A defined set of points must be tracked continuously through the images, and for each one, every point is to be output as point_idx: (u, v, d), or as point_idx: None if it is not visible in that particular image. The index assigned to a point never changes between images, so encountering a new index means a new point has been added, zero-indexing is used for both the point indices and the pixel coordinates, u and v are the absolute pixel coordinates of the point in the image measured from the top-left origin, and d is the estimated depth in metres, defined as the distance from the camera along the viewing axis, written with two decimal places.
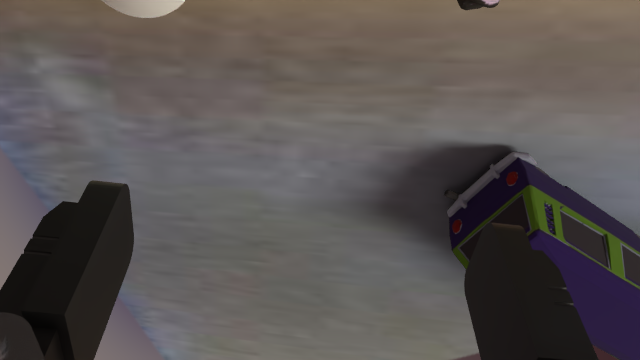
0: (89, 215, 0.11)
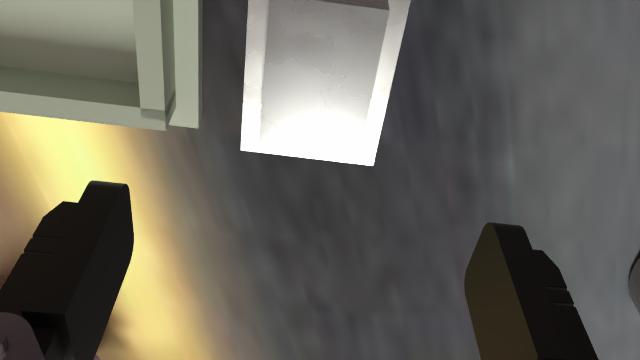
0: (89, 215, 0.11)
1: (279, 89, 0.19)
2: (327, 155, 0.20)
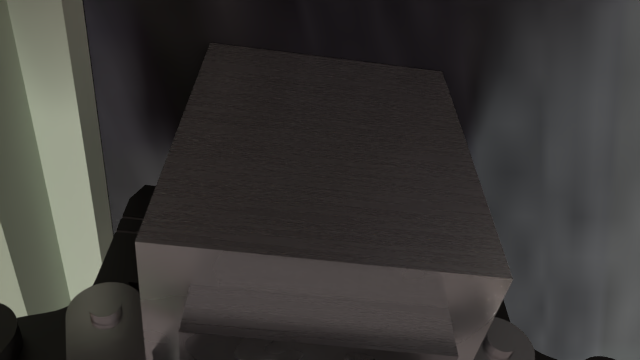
0: None
1: None
2: None
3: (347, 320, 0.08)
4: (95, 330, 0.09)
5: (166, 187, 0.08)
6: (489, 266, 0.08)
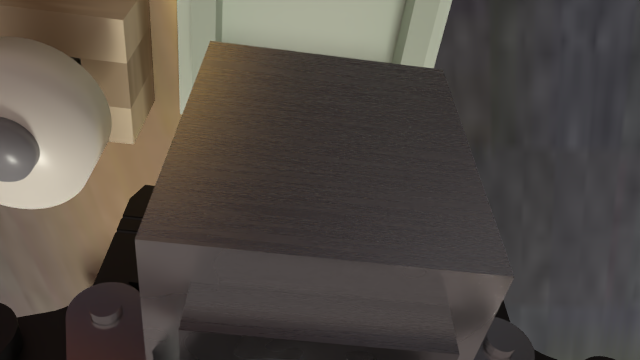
0: None
1: None
2: None
3: (347, 318, 0.08)
4: (95, 330, 0.09)
5: (166, 185, 0.08)
6: (490, 264, 0.08)
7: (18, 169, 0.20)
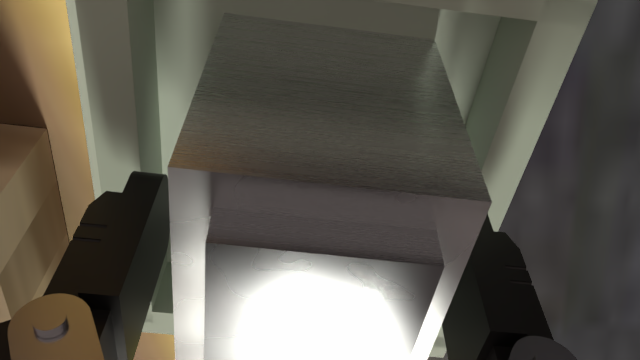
0: (134, 203, 0.11)
1: None
2: None
3: (349, 237, 0.09)
4: (37, 344, 0.09)
5: (191, 126, 0.09)
6: (471, 192, 0.09)
7: None
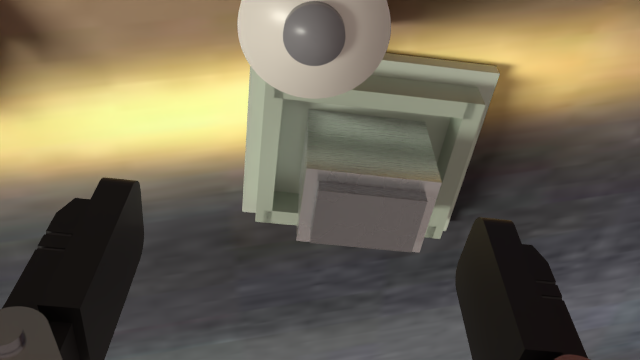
0: (102, 211, 0.11)
1: (365, 203, 0.29)
2: (313, 226, 0.30)
3: None
4: None
5: None
6: None
7: (297, 50, 0.22)
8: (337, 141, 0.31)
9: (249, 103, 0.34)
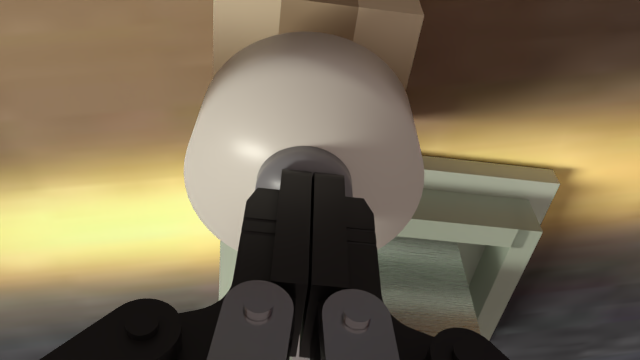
0: (294, 199, 0.12)
1: None
2: None
3: None
4: (254, 327, 0.09)
5: None
6: None
7: None
8: None
9: None
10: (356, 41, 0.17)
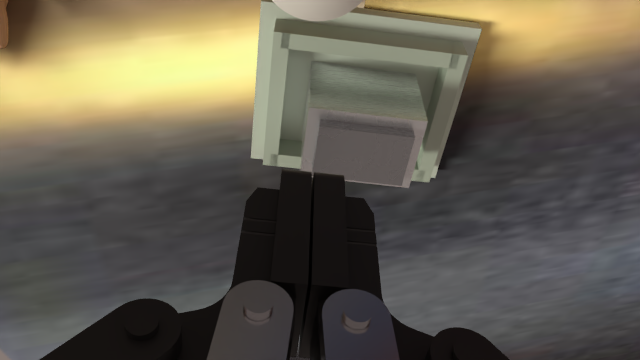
0: (294, 199, 0.12)
1: (360, 139, 0.33)
2: (315, 161, 0.34)
3: None
4: (254, 327, 0.09)
5: None
6: None
7: None
8: (336, 87, 0.35)
9: (258, 55, 0.38)
10: None
